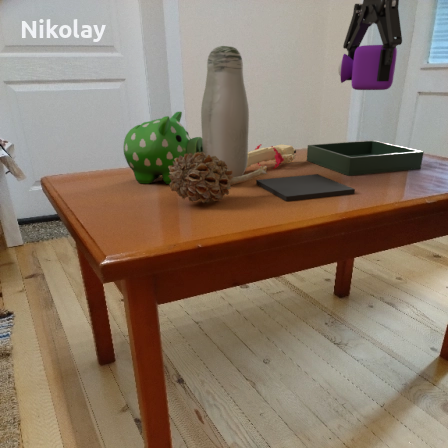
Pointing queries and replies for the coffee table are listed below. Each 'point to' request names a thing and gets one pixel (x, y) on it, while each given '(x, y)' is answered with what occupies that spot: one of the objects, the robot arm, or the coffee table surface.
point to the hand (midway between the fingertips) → (365, 80)
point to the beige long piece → (271, 154)
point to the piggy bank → (158, 147)
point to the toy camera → (366, 68)
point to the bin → (364, 157)
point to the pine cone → (204, 177)
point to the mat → (304, 187)
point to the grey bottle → (225, 110)
